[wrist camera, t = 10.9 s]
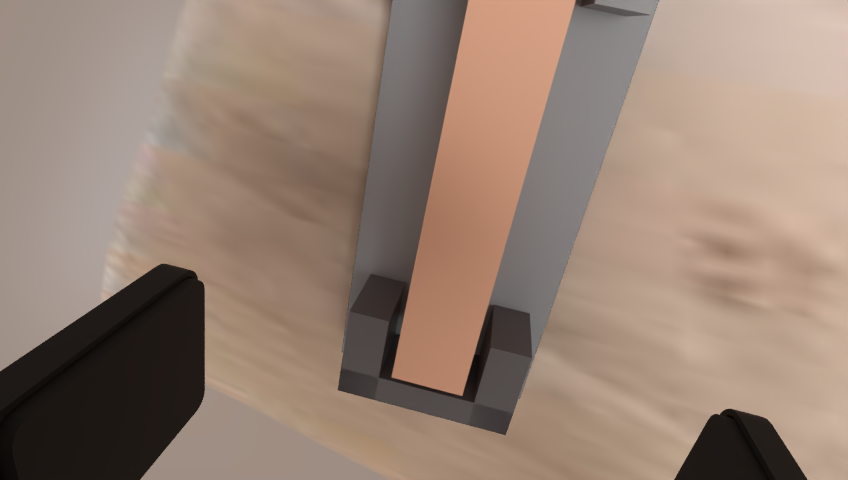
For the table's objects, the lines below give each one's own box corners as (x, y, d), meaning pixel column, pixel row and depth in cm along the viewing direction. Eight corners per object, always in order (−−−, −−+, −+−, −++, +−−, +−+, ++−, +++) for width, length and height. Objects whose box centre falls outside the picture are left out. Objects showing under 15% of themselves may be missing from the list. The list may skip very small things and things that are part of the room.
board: (427, -184, 20) (421, -199, 19) (697, -137, 20) (711, -148, 18) (349, 338, 32) (341, 352, 30) (519, 382, 31) (519, 398, 29)
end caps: (442, -169, 19) (425, -213, 16) (675, -127, 19) (713, -164, 15) (359, 345, 30) (337, 389, 26) (506, 384, 29) (505, 435, 26)
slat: (496, -84, 20) (491, -115, 16) (582, -68, 20) (602, -95, 15) (410, 321, 29) (391, 377, 24) (470, 336, 28) (462, 396, 24)
